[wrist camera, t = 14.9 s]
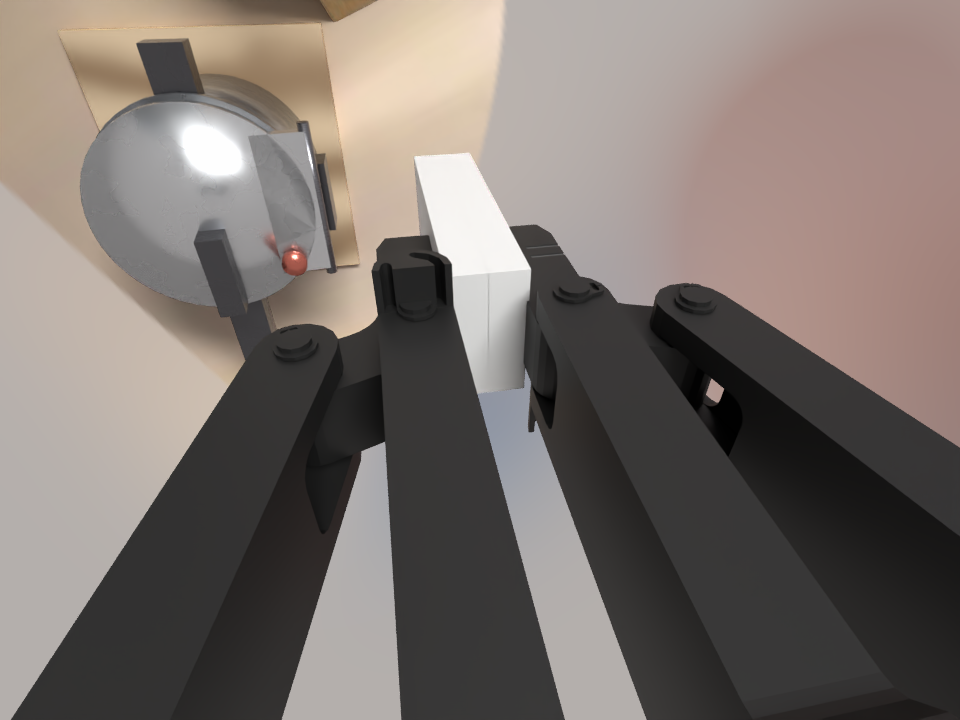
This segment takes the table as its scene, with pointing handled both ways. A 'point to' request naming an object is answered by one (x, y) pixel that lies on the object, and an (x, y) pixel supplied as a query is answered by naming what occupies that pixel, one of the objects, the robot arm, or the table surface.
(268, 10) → the table surface
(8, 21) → the table surface
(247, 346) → the pot
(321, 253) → the lid
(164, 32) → the trivet
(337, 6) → the sandwich container
